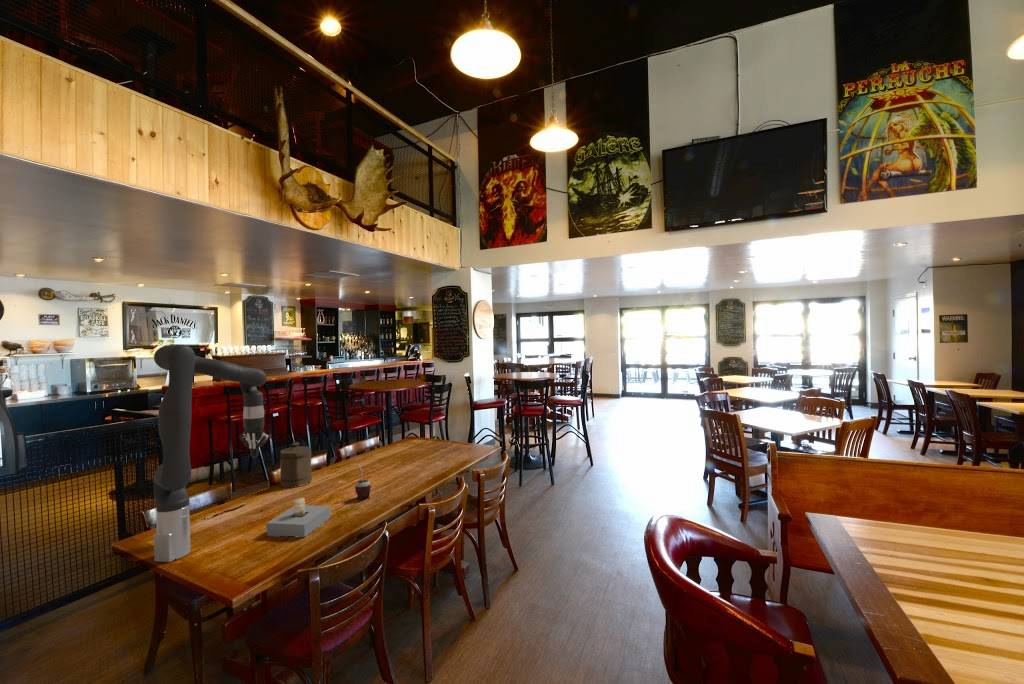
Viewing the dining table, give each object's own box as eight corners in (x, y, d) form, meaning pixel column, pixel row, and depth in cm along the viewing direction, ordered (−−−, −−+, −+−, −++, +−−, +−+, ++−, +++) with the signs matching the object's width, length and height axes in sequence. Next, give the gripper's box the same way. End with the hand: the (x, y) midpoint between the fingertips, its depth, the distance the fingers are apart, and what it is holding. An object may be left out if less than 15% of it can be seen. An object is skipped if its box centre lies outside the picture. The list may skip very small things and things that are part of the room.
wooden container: (296, 477, 234) (295, 438, 234) (317, 480, 230) (317, 440, 229) (273, 486, 220) (273, 444, 220) (296, 489, 215) (295, 446, 215)
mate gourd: (366, 501, 198) (365, 469, 198) (350, 500, 199) (350, 469, 199) (374, 495, 205) (373, 464, 205) (359, 494, 207) (358, 464, 207)
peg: (301, 529, 170) (300, 501, 170) (291, 528, 170) (291, 501, 170) (307, 524, 174) (307, 498, 174) (298, 524, 174) (297, 497, 174)
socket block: (304, 537, 162) (304, 524, 162) (266, 535, 164) (266, 523, 164) (330, 517, 180) (330, 506, 180) (295, 516, 182) (295, 505, 182)
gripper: (232, 417, 176) (233, 459, 176) (261, 418, 174) (262, 459, 174) (246, 414, 183) (247, 454, 183) (274, 414, 181) (274, 454, 181)
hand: (254, 456), depth 179 cm, fingers closed
